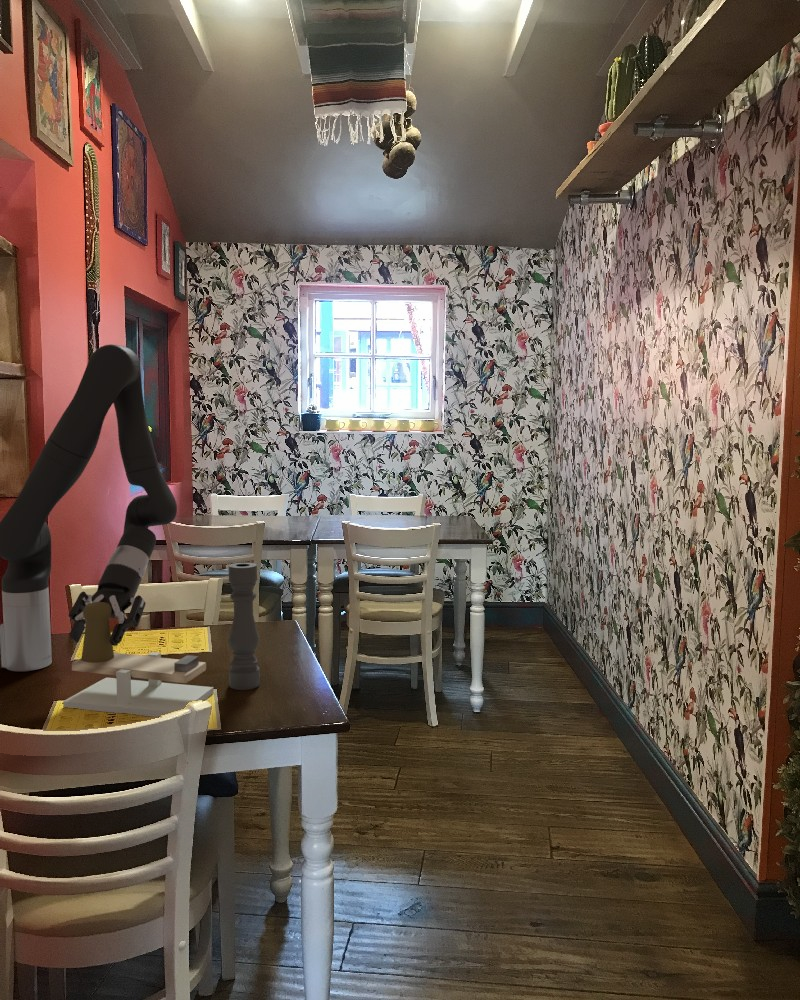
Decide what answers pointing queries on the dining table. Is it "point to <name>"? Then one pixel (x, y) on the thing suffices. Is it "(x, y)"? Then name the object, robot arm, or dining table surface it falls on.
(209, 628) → the dining table surface
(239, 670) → the candle holder
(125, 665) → the beam
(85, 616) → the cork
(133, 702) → the beam stand
